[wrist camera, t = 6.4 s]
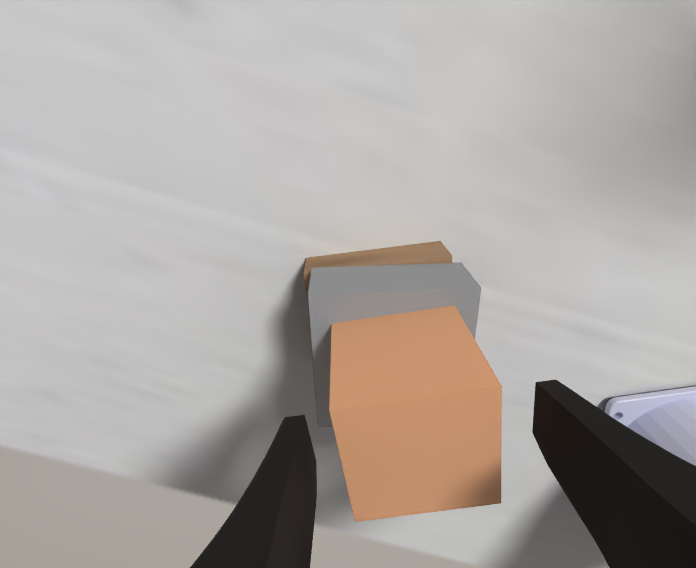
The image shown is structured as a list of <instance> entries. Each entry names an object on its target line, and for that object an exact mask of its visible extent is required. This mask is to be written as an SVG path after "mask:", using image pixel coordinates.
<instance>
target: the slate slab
mask: <svg viewBox="0 0 696 568" xmlns="http://www.w3.org/2000/svg"><path fill="white" fill-rule="evenodd" d="M480 293H481V287H480V286H479V284H478V283H477V282H476V281H475V279H474V278H473V277H472V276H471V274H470V273H469V272H468V270H467V269H466V268H465V267H464V265H463V264H462V263H434V264H405V265H376V266H347V267H319V268H312V270H311V277H310V283H309V290H308V301H309V314H310V328H311V341H312V354H313V367H314V380H315V394H316V407H317V420H318V426H333V424H332V420H331V415H330V411H329V404H330V367H331V331H332V324H333V323H339V322H346V321H353V320H359V319H366V318H373V317H379V316H386V315H393V314H399V313H406V312H413V311H420V310H426V309H433V308H440V307H446V306H453V305H455V307H456V308H457V310H458V312H459V314H460V315H461V317H462V319H463V320H464V322H465V324H466V326H467V327H468V329H469V331H470V333H471V334H472V336H473V338H474V339H475V333H476V325H477V317H478V309H479V301H480Z"/></svg>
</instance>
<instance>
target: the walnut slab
mask: <svg viewBox="0 0 696 568" xmlns="http://www.w3.org/2000/svg"><path fill="white" fill-rule="evenodd" d="M434 263H452V255H451V254H450V252H449V251H448V250H447V249H446V247H445V246H444V245H443V244H442V242H441V241H437V242H429V243H421V244H413V245H405V246H397V247H389V248H381V249H373V250H365V251H357V252H349V253H341V254H333V255H325V256H317V257H309V258H306V262H305V268H304V273H303V274H304V280H305V286H306V291H307V297H308V290H309V283H310V277H311V270H312V268H319V267H347V266H376V265H405V264H434ZM308 302H309V301H308Z"/></svg>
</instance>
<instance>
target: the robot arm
mask: <svg viewBox="0 0 696 568" xmlns="http://www.w3.org/2000/svg"><path fill="white" fill-rule="evenodd" d="M533 434H534V437H535V439H536V441H537V443H538V445H539V448H540V450H541V452H542V454H543V456H544V458H545V460H546V462H547V464H548V466H549V468H550V469H551V471H552V473H553V474H554V476H555V477H556V479H557V481H558V482H559V484H560V486H561V487H562V489H563V490H564V492H565V494H566V495H567V497H568V498H569V500H570V502H571V503H572V505H573V506H574V508H575V510H576V511H577V513H578V514H579V516H580V517H581V519H582V521H583V522H584V524H585V525H586V527H587V529H588V530H589V532H590V533H591V535H592V537H593V538H594V540H595V542H596V543H597V545H598V547H599V549H600V550H601V552H602V554H603V556H604V558H605V560H606V562H607V563H608V565H609V567H610V568H696V386H694V387H687V388H680V389H672V390H665V391H658V392H651V393H643V394H636V395H629V396H622V397H615V398H612V399H610V400H609V401H608V402H607V404H606V408H605V412H603V411H602V410H600V409H599V408H597V407H596V406H594V405H593V404H591V403H590V402H588V401H587V400H585V399H584V398H583V397H581V396H580V395H578V394H577V393H575V392H574V391H572V390H571V389H569V388H568V387H566V386H565V385H563V384H562V383H560V382H559V381H557V380H549V381H542V382H536V387H535V402H534V417H533ZM316 497H317V477H316V459H315V455H314V451H313V447H312V443H311V439H310V435H309V431H308V427H307V423H306V419H305V415H299V416H292V417H285V418H284V420H283V421H282V423H281V425H280V428H279V430H278V432H277V434H276V436H275V438H274V440H273V442H272V444H271V446H270V448H269V450H268V452H267V454H266V456H265V458H264V460H263V461H262V463H261V465H260V467H259V469H258V471H257V472H256V474H255V476H254V478H253V479H252V481H251V483H250V484H249V486H248V488H247V489H246V491H245V492H244V494H243V496H242V497H241V499H240V501H239V502H238V504H237V505H236V507H235V508H234V510H233V512H232V513H231V514H230V516H229V517H228V519H227V520H226V522H225V523H224V524H223V526H222V527H221V529H220V530H219V531H218V533H217V534H216V535H215V537H214V538H213V540H212V541H211V542H210V543H209V545H208V546H207V547H206V548H205V550H204V551H203V552H202V554H201V555H200V556H199V557H198V559H197V560H196V561H195V562H194V564H193V565H192V566H191V567H190V568H310V561H311V550H312V540H313V530H314V519H315V508H316Z"/></svg>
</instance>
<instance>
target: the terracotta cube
mask: <svg viewBox="0 0 696 568" xmlns="http://www.w3.org/2000/svg"><path fill="white" fill-rule="evenodd" d="M501 409H502V386H501V384H500V383H499V381H498V379H497V377H496V376H495V374H494V372H493V370H492V369H491V367H490V365H489V364H488V362H487V360H486V358H485V357H484V355H483V353H482V351H481V350H480V348H479V346H478V345H477V343H476V341H475V339H474V338H473V336H472V334H471V333H470V331H469V329H468V327H467V326H466V324H465V322H464V320H463V319H462V317H461V315H460V314H459V312H458V310H457V308H456V307H455V305H453V306H446V307H440V308H433V309H426V310H420V311H413V312H406V313H399V314H393V315H386V316H379V317H373V318H366V319H359V320H353V321H346V322H339V323H333V324H332V331H331V367H330V404H329V411H330V415H331V420H332V424H333V428H334V433H335V437H336V442H337V446H338V450H339V455H340V459H341V463H342V468H343V472H344V477H345V481H346V485H347V490H348V494H349V498H350V503H351V507H352V511H353V516H354V520H355V522H357V521H365V520H373V519H381V518H389V517H397V516H404V515H412V514H420V513H428V512H436V511H444V510H452V509H459V508H467V507H475V506H483V505H491V504H499V503H501Z"/></svg>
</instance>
